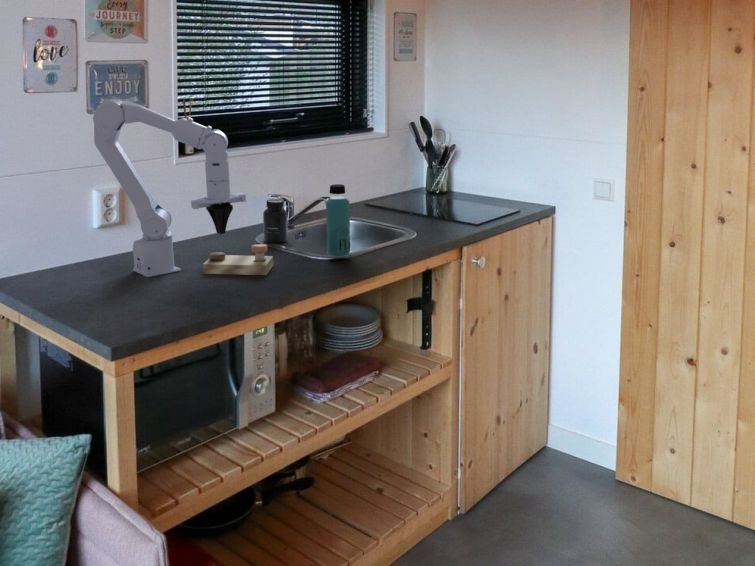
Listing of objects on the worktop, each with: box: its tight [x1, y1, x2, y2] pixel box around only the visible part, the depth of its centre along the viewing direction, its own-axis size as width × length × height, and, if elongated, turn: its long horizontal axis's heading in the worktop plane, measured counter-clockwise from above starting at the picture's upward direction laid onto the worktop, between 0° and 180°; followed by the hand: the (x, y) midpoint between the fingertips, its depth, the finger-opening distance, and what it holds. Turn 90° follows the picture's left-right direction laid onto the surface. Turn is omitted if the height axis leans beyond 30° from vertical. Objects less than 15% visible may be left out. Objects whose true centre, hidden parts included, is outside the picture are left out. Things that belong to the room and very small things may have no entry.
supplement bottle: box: [262, 198, 288, 244], centre depth 246 cm, size 7×7×12 cm
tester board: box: [202, 254, 274, 276], centre depth 218 cm, size 16×9×2 cm, turn 85°
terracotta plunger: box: [250, 243, 268, 261], centre depth 217 cm, size 4×4×4 cm
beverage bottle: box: [325, 184, 351, 257], centre depth 226 cm, size 6×7×20 cm
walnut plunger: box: [208, 251, 226, 261], centre depth 219 cm, size 4×4×4 cm
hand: (220, 233), depth 216 cm, fingers closed
